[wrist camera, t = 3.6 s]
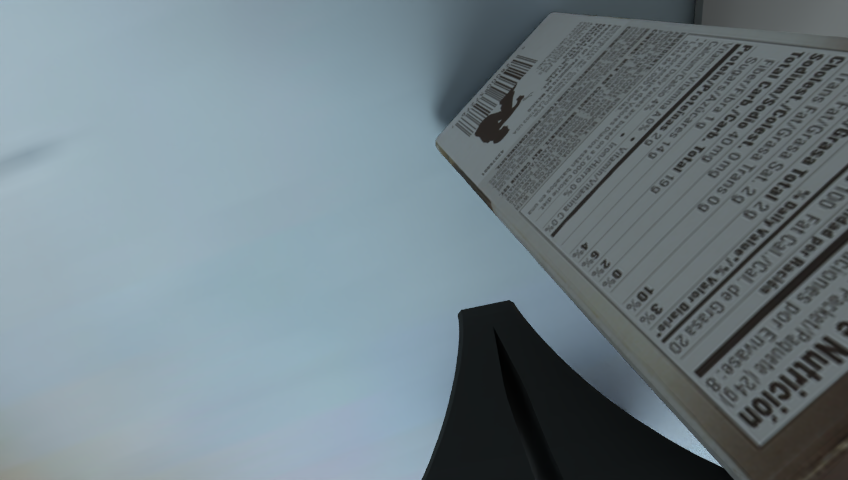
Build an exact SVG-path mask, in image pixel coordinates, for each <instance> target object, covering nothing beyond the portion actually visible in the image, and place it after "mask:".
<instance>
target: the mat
mask: <svg viewBox="0 0 848 480" xmlns="http://www.w3.org/2000/svg"><path fill="white" fill-rule="evenodd" d="M694 24H695V25H706V26H718V27H729V28H741V29H753V30H765V31H777V32H789V33H801V34H813V35H825V36H837V37H848V0H696V5H695V17H694Z"/></svg>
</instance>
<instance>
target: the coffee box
mask: <svg viewBox="0 0 848 480" xmlns="http://www.w3.org/2000/svg"><path fill="white" fill-rule="evenodd" d="M436 147H437V149H438V150H439V152H440V153H441V154H442V155H443V156H444V157H445V158H446V159H447V160H448V162H449V163H450V164H451V165H452V166H453V167H454V168H455V169H456V170H457V171H458V173H459V174H460V175H461V176H462V177H463V178H464V179H465V180H466V182H467V183H468V184H469V185H470V186H471V187H472V189H473V190H474V191H475V192H476V193H477V194H478V195H479V196H480V198H481V199H482V200H483V201H484V202H485V203H486V204H487V205H488V207H489V208H490V209H491V210H492V211H493V212H494V213H495V215H496V216H497V217H498V218H499V219H500V220H501V221H502V223H503V224H504V225H505V226H506V227H507V228H508V229H509V230H510V232H511V233H512V234H513V235H514V236H515V237H516V238H517V239H518V240H519V241H520V243H521V244H522V245H523V246H524V247H525V248H526V249H527V250H528V251H529V253H530V254H531V255H532V256H533V257H534V258H535V260H536V261H537V262H538V263H539V264H540V265H541V267H542V268H543V269H544V270H545V271H546V272H547V273H548V274H549V275H550V276H551V277H552V279H553V280H554V281H555V282H556V283H557V284H558V285H559V287H560V288H561V289H562V290H563V291H564V292H565V293H566V294H567V296H568V297H569V298H570V299H571V300H572V301H573V302H574V303H575V305H576V306H577V307H578V308H579V309H580V310H581V311H582V312H583V314H584V315H585V316H586V317H587V318H588V319H589V320H590V321H591V323H592V324H593V325H594V326H595V327H596V328H597V329H598V330H599V331H600V333H601V334H602V335H603V336H604V337H605V338H606V339H607V340H608V341H609V342H610V344H611V345H612V346H613V347H614V348H615V349H616V350H617V351H618V352H619V354H620V355H621V356H622V357H623V358H624V359H625V360H626V361H627V362H628V363H629V365H630V366H631V367H632V368H633V369H634V370H635V371H636V372H637V373H638V375H639V376H640V377H641V378H642V379H643V380H644V381H645V382H646V383H647V385H648V386H649V387H650V388H651V389H652V390H653V391H654V392H655V393H656V395H657V396H658V397H659V398H660V399H661V400H662V401H663V402H664V403H665V404H666V406H667V407H668V408H669V409H670V410H671V411H672V412H673V413H674V414H675V415H676V417H677V418H678V419H679V420H680V421H681V422H682V423H683V424H684V425H685V426H686V427H687V429H688V430H689V431H690V432H691V433H692V434H693V435H694V436H695V437H696V438H697V440H698V441H699V442H700V443H701V444H702V445H703V446H704V447H705V448H706V449H707V450H708V452H709V453H710V454H711V455H712V456H713V457H714V458H715V459H716V460H717V461H718V462H719V464H720V465H721V466H722V467H723V468H724V469H725V470H726V471H727V472H728V473H729V475H730V476H731V477H732V478H733V479H734V480H848V37H837V36H825V35H813V34H801V33H789V32H777V31H765V30H753V29H741V28H729V27H718V26H706V25H695V24H684V23H673V22H662V21H652V20H642V19H628V18H616V17H605V16H597V15H595V16H591V15H580V14H569V13H559V12H552V13H550V14H549V15H548V16H547V17H546V18H545V19H544V20H543V21H542V22H541V24H540V25H539V26H538V27H537V28H536V29H535V30H534V31H533V32H532V33H531V34H530V36H529V37H528V38H527V39H526V40H525V41H524V42H523V43H522V44H521V45H520V47H519V48H518V49H517V50H516V51H515V52H514V53H513V54H512V55H511V56H510V58H509V59H508V60H507V61H506V62H505V63H504V64H503V65H502V66H501V67H500V69H499V70H498V71H497V72H496V73H495V74H494V75H493V76H492V77H491V78H490V80H489V81H488V82H487V83H486V84H485V85H484V86H483V87H482V88H481V89H480V91H479V92H478V93H477V94H476V95H475V96H474V97H473V98H472V99H471V100H470V102H469V103H468V104H467V105H466V106H465V107H464V108H463V109H462V110H461V112H460V113H459V114H458V115H457V116H456V117H455V118H454V119H453V120H452V121H451V123H450V124H449V125H448V126H447V127H446V128H445V129H444V130H443V131H442V133H441V134H440V135H439V136H438V137H437V139H436Z"/></svg>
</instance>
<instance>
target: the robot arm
mask: <svg viewBox="0 0 848 480" xmlns="http://www.w3.org/2000/svg"><path fill="white" fill-rule="evenodd" d="M458 319H459V347H458V356H457V364H456V371H455V377H454V381H453V386H452V391H451V395H450V400H449V404H448V408H447V411H446V415H445V419H444V422H443V425H442V428H441V431H440V434H439V437H438V440H437V443H436V446H435V448H434V451H433V454H432V456H431V459H430V462H429V464H428V466H427V469H426V471H425V473H424V476H423V478H422V480H734V479H733V478H732V477H731V476H730V475H729V473H728V472H727V471H726V470H725V469H724V468H722V467H720V466H718V465H716V464H714V463H712V462H710V461H708V460H706V459H704V458H702V457H700V456H697V455H695V454H693V453H692V452H690V451H688V450H686V449H685V448H683V447H681V446H679V445H677V444H676V443H674V442H672V441H670V440H669V439H667V438H665V437H664V436H662V435H661V434H659V433H657V432H656V431H654V430H653V429H651V428H650V427H648V426H646V425H645V424H643V423H642V422H640V421H638V420H637V419H635V418H634V417H632V416H631V415H629V414H628V413H627V412H625V411H624V410H622V409H621V408H620V407H618V406H617V405H615V404H614V403H613V402H611V401H610V400H609V399H607V398H606V397H605V396H604V395H602V394H601V393H600V392H598V391H597V390H596V389H595V388H594V387H592V386H591V385H590V384H589V383H588V382H586V381H585V380H584V379H583V378H582V377H581V376H580V375H578V374H577V373H576V372H575V371H574V370H573V369H572V368H571V367H570V366H569V365H568V364H566V363H565V362H564V361H563V360H562V359H561V358H560V357H559V356H558V355H557V354H556V353H555V352H554V351H553V350H552V349H551V347H550V346H549V345H548V344H547V343H546V342H545V341H544V340H543V339H542V338H541V337H540V336H539V335H538V334H537V332H536V331H535V330H534V329H533V328H532V327H531V325H530V324H529V323H528V322H527V321H526V319H525V318H524V317H523V315H522V314H521V313H520V311H519V310H518V309H517V307H516V306H515V304H514V303H513V302H511V301H510V300H507V301H503V302H498V303H493V304H488V305H483V306H478V307H474V308H469V309H464V310H461V311H460V312H459V313H458Z"/></svg>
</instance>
